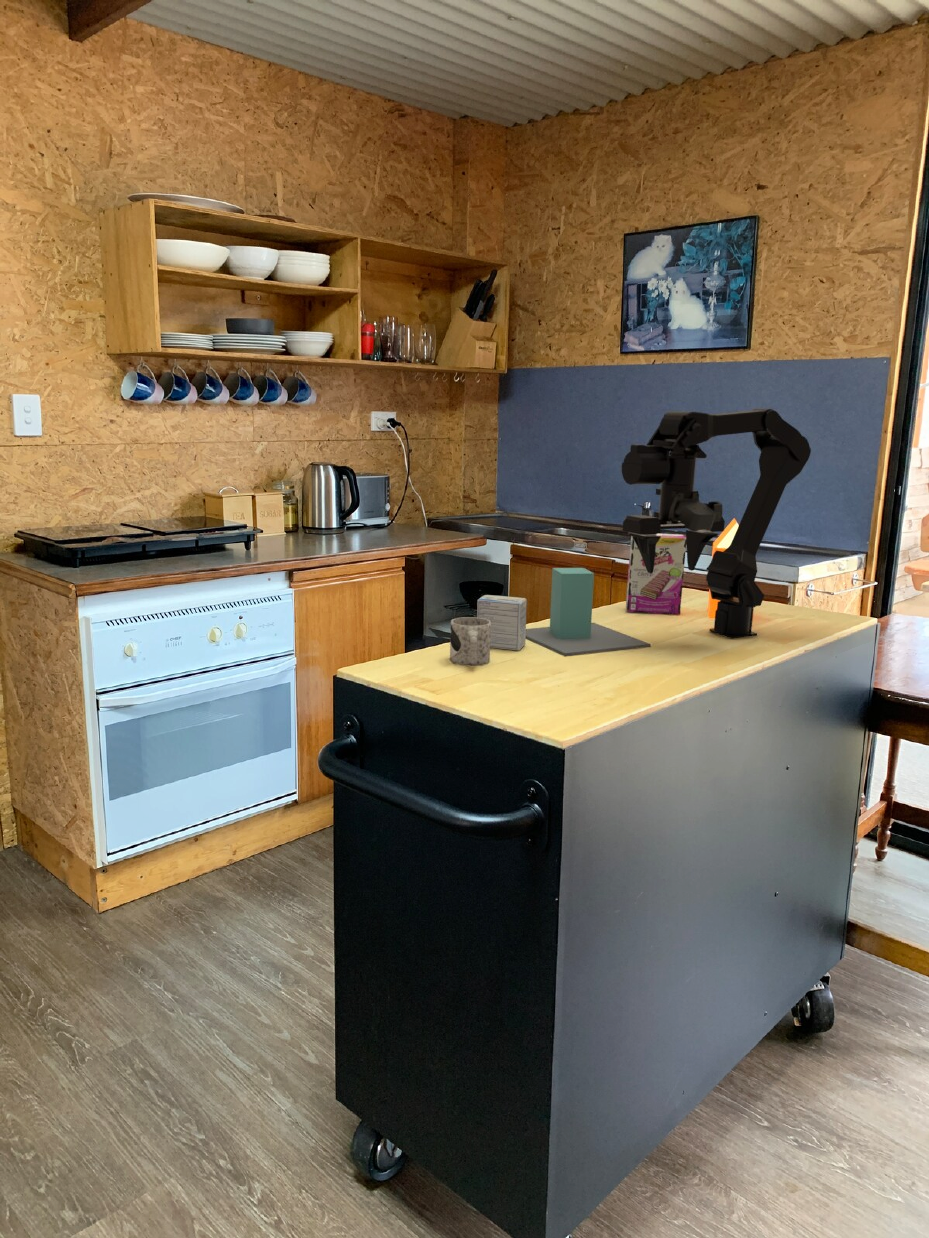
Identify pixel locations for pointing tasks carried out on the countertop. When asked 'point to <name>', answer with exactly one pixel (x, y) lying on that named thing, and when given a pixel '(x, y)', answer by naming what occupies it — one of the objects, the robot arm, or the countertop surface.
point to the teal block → (571, 603)
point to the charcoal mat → (585, 641)
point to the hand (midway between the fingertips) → (670, 571)
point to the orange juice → (722, 545)
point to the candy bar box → (657, 577)
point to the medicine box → (504, 620)
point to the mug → (470, 641)
